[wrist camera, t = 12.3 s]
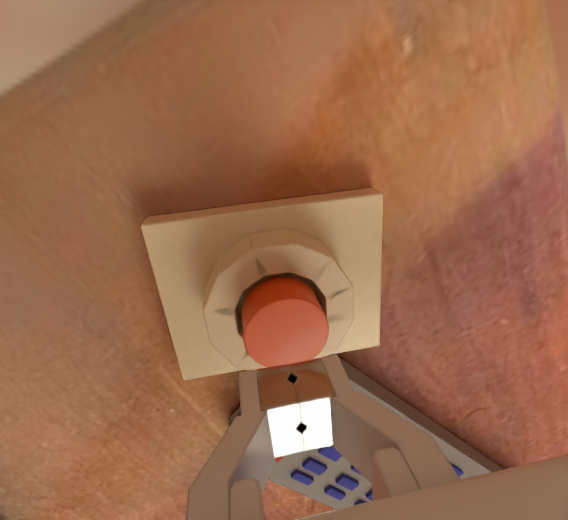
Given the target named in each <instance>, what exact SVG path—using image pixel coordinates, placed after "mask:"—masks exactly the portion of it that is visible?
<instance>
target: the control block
mask: <svg viewBox="0 0 568 520" xmlns="http://www.w3.org/2000/svg"><path fill="white" fill-rule="evenodd" d="M382 217H383V193H382V192H380V191H378V190H376V189H374V188H364V189H357V190H349V191H341V192H334V193H326V194H318V195H311V196H303V197H295V198H288V199H280V200H272V201H265V202H257V203H249V204H242V205H234V206H226V207H219V208H211V209H203V210H196V211H188V212H180V213H173V214H165V215H157V216H150V217H146V218H145V220H144V221H143V223H142V224H141V230H142V234H143V238H144V241H145V245H146V248H147V252H148V256H149V259H150V263H151V266H152V270H153V274H154V277H155V281H156V285H157V288H158V292H159V295H160V299H161V303H162V306H163V310H164V313H165V317H166V321H167V324H168V328H169V332H170V335H171V339H172V342H173V346H174V350H175V353H176V357H177V360H178V364H179V368H180V371H181V375H182V378H183V380H189V379H195V378H201V377H206V376H212V375H217V374H223V373H229V372H234V371H240V370H248V371H250V370H256V369H261V368H267V367H265V366H263V365H261V364H259V363H257V362H256V361H255V360H254V359H253V358H252V357H251V356H250V355H249V353H248V352H247V350H246V348H245V344H244V337H243V324H242V307H243V303H244V301H245V299H246V297H247V295H248V294H249V293H250V291H251V290H252V289H253V288H254V287H256V286H257V285H258V284H260V283H262V282H263V281H266V280H268V279H271V278H275V277H291V278H295V279H298V280H301V281H303V282H304V283H306V284H307V285H308V286H310V288H311V289H312V290H313V291H314V293H315V295H316V297H317V299H318V301H319V303H320V305H321V307H322V309H323V311H324V313H325V316H326V318H327V320H328V325H329V334H328V339H327V342H326V344H325V346H324V348H323V349H322V351H321V352H320V353H319V354H318V355H317V356H316V357H315V358H314V359H316V358H320V357H325V356H328V355H330V354H336V353H341V352H347V351H353V350H358V349H364V348H369V347H375V346H379V342H380V300H381V259H382ZM256 373H257V372H256Z"/></svg>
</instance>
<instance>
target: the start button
mask: <svg viewBox="0 0 568 520" xmlns="http://www.w3.org/2000/svg"><path fill="white" fill-rule="evenodd" d="M242 324H243V337H244V344H245V348H246V350H247V352H248V353H249V355H250V356H251V357H252V358H253V359H254V360H255V361H256V362H257V363H259V364H261V365H263V366H265V367H273V366H279V365H285V364H291V363H296V362H301V361H306V360H311V359H314V358H315V357H316V356H317V355H318V354H319V353H320V352H321V351H322V349H323V348H324V346H325V344H326V342H327V339H328V334H329V325H328V320H327V318H326V316H325V313H324V311H323V309H322V307H321V305H320V303H319V301H318V299H317V297H316V295H315V293H314V291H313V290H312V289H311V288H310V286H308V285H307V284H306V283H304V282H303V281H301V280H298V279H295V278H291V277H275V278H271V279H268V280H266V281H263V282H262V283H260V284H258V285H257V286H256V287H254V288H253V289H252V290H251V291H250V293H249V294H248V295H247V297H246V299H245V301H244V303H243V307H242Z"/></svg>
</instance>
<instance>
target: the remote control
mask: <svg viewBox="0 0 568 520" xmlns="http://www.w3.org/2000/svg"><path fill="white" fill-rule="evenodd" d="M330 355H334V354H330ZM328 356H329V355H328ZM339 359H340V361H341V364H342V366H343V368H344V370H345V372H346V374H347V376H348V378H349V381H350V383H351V385H352V387H353V389H354V391H355V392H361V393H363V394H365V395H366V396H368V397H370V398H371V399H373V400H374V401H376V402H378V403H379V404H381V405H383V406H384V407H386V408H387V409H389V410H391V411H392V412H394V413H396V414H397V415H399V416H400V417H402V418H404V419H405V420H407V421H409V422H410V423H412V424H413V425H415V426H417V427H418V428H420V429H422V430H423V431H425V432H426V433H428V434H430V435H431V436H433V437H434V439H435V440H436V442H437V444H438V445H439V447H440V448H441V450H442V451H443V453H444V454H445V456H446V458H447V459H448V461H449V462H450V464H451V465H452V467H453V469H454V470H455V472H456V473H457V475H458V476H459V478H460V479H461V480H462V479H466V478H470V477H474V476H479V475H483V474H487V473H491V472H496V471H500V470H504V469H503V468H502V467H500V466H499V465H497V464H496V463H495V462H493V461H492V460H490V459H489V458H487V457H486V456H484V455H483V454H481V453H480V452H478V451H477V450H475V449H474V448H472V447H471V446H469V445H468V444H467V443H465V442H464V441H462V440H461V439H459V438H458V437H456V436H455V435H453V434H452V433H450V432H449V431H447V430H446V429H444V428H443V427H441V426H440V425H439V424H437V423H436V422H434V421H433V420H431V419H430V418H428V417H427V416H425V415H424V414H422V413H421V412H419V411H418V410H416V409H415V408H414V407H412V406H411V405H409V404H408V403H406V402H405V401H403V400H402V399H400V398H399V397H397V396H396V395H394V394H393V393H391V392H390V391H388V390H387V389H386V388H384V387H383V386H381V385H380V384H378V383H377V382H375V381H374V380H372V379H371V378H369V377H368V376H366V375H365V374H363V373H362V372H360V371H359V370H358V369H356V368H355V367H353V366H352V365H350V364H349V363H347V362H346V361H344V360H343V359H341V358H340V357H339ZM236 416H241V408H240V407H239V408H238V409H237V410H236V411H235V412H234V413H233V414H232V415H231V416H230V417H229V426H230V425H231V423H232V422H233V420H234V419H235V417H236ZM268 479H269V480H271V481H273V482H276V483H278V484H280V485H283V486H285V487H287V488H290V489H292V490H295V491H297V492H299V493H301V494H303V495H306V496H308V497H310V498H312V499H314V500H316V501H319V502H321V503H323V504H326V505H328V506H330V507H332V508H335V509H340V508H344V507H349V506H353V505H357V504H361V503H365V502H370V501H372V487H373V485H372V484H371V483H370V482H369V481H368V480H367V479H366V478H365V477H364V476H363V475H362V474H361V473H360V472H359V471H358V470H357V469H356V468H355V467H354V466H353V465H352V464H351V463H349V462H348V461H347V460H346V459H345V458H344V457H343V456H342V455H341V454H340V453H339V452H338V451H337V450H336V449H335V448H334V446H329V447H324V448H318V449H313V450H307V451H302V452H298V453H294V454H290V455H286V456H282V457H278V458H275V462H274V464H273V467H272V469H271V472H270V474H269V477H268Z"/></svg>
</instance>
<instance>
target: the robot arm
mask: <svg viewBox="0 0 568 520" xmlns="http://www.w3.org/2000/svg"><path fill="white" fill-rule="evenodd" d="M256 372H257V373H256ZM239 391H240V408H241V416H236V417H235V419H234V420H233V422H232V423H231V425H230V426H229V428H228V429H227V431H226V433H225V434H224V436H223V437H222V439H221V440H220V442H219V443H218V445H217V446H216V448H215V450H214V451H213V453H212V454H211V456H210V457H209V459H208V460H207V462H206V463H205V465H204V466H203V468H202V470H201V471H200V473H199V474H198V476H197V477H196V479H195V480H194V482H193V483H192V485H191V487H190V488H189V490H188V499H187V510H186V520H266V516H265V511H264V506H263V500H262V493H263V490H264V487H265V485H266V482H267V480H268V477H269V474H270V472H271V469H272V467H273V464H274V462H275V458H278V457H282V456H286V455H290V454H294V453H298V452H302V451H307V450H313V449H318V448H324V447H329V446H334V448H335V449H336V450H337V451H338V452H339V453H340V454H341V455H342V456H343V457H344V458H345V459H346V460H347V461H348V462H349V463H351V464H352V465H353V466H354V467H355V468H356V469H357V470H358V471H359V472H360V473H361V474H362V475H363V476H364V477H365V478H366V479H367V480H368V481H369V482H370V483H371V484H372V485H373V487H372V501H370V502H365V503H361V504H357V505H353V506H349V507H344V508H340V509H336V510H332V511H327V512H323V513H319V514H315V515H310V516H306V517H302V518H298V519H293V520H568V454H567V455H563V456H559V457H555V458H551V459H546V460H542V461H538V462H534V463H529V464H525V465H521V466H517V467H513V468H508V469H504V470H500V471H496V472H491V473H487V474H483V475H479V476H474V477H470V478H466V479H462V480H461V479H460V478H459V476H458V475H457V473H456V472H455V470H454V469H453V467H452V465H451V464H450V462H449V461H448V459H447V458H446V456H445V454H444V453H443V451H442V450H441V448H440V447H439V445H438V444H437V442H436V440H435V439H434V437H433V436H431V435H430V434H428V433H426V432H425V431H423V430H422V429H420V428H418V427H417V426H415V425H413V424H412V423H410V422H409V421H407V420H405V419H404V418H402V417H400V416H399V415H397V414H396V413H394V412H392V411H391V410H389V409H387V408H386V407H384V406H383V405H381V404H379V403H378V402H376V401H374V400H373V399H371V398H370V397H368V396H366V395H365V394H363V393H361V392H355V391H354V389H353V387H352V385H351V383H350V381H349V378H348V376H347V374H346V372H345V370H344V368H343V366H342V364H341V361H340V359H339V357H338V356H337V355H336V354H334V355H329V356H325V357H320V358H316V359H311V360H306V361H301V362H296V363H291V364H285V365H279V366H273V367H267V368H261V369H256V370H250V371H244V372H239Z"/></svg>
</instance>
